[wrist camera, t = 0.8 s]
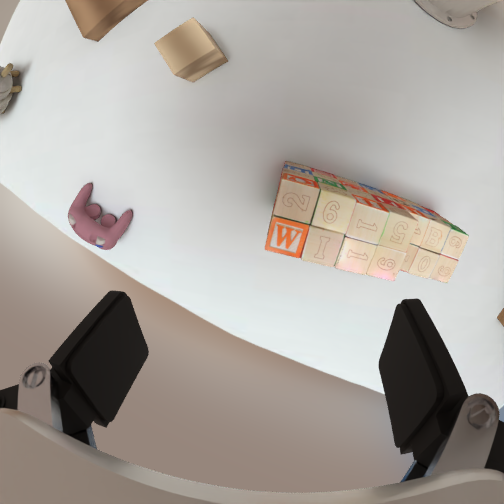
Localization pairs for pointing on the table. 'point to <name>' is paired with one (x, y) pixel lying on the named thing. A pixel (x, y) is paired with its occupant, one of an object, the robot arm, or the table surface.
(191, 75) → the oak block
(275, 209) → the stack of blocks
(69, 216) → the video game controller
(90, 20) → the base block
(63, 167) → the table surface
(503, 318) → the toy building blocks
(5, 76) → the toy sheep
